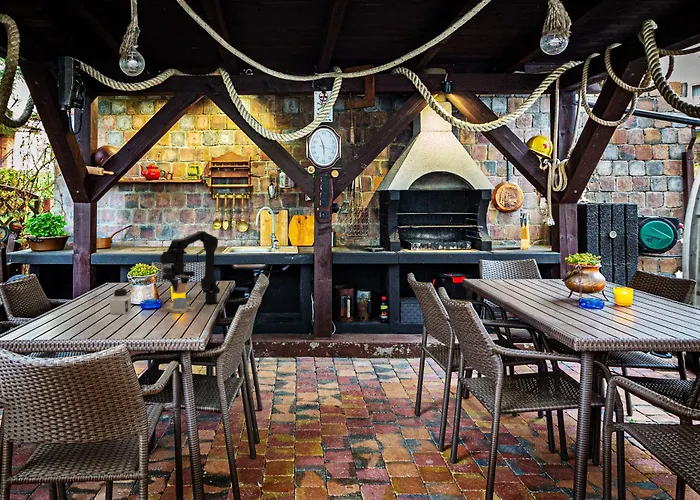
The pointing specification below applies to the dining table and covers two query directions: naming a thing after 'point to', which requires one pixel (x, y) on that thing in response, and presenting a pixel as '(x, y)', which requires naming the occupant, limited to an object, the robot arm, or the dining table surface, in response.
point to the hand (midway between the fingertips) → (179, 290)
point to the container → (120, 302)
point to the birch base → (176, 310)
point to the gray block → (179, 303)
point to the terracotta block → (180, 288)
